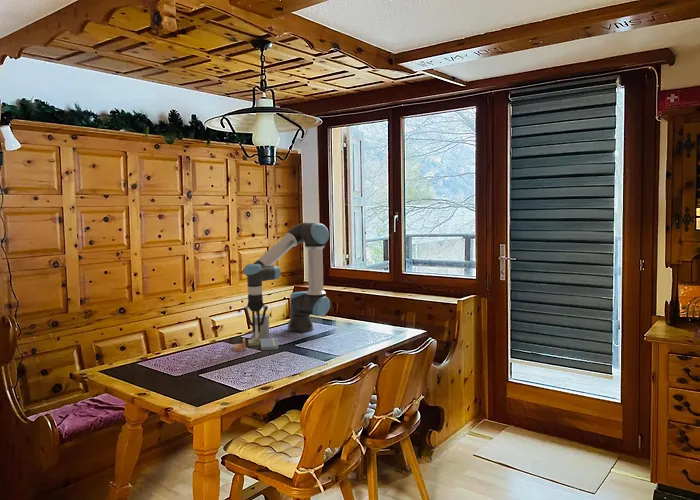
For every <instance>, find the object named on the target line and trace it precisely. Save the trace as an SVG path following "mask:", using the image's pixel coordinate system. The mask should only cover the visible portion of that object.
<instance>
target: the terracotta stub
mask: <svg viewBox="0 0 700 500" xmlns="http://www.w3.org/2000/svg"><path fill="white" fill-rule="evenodd" d="M246 348H247V346H246V338H245V337H242V343H234V344H233V352H239V351H240V352H243V351H246V350H247V349H246Z"/></svg>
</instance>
